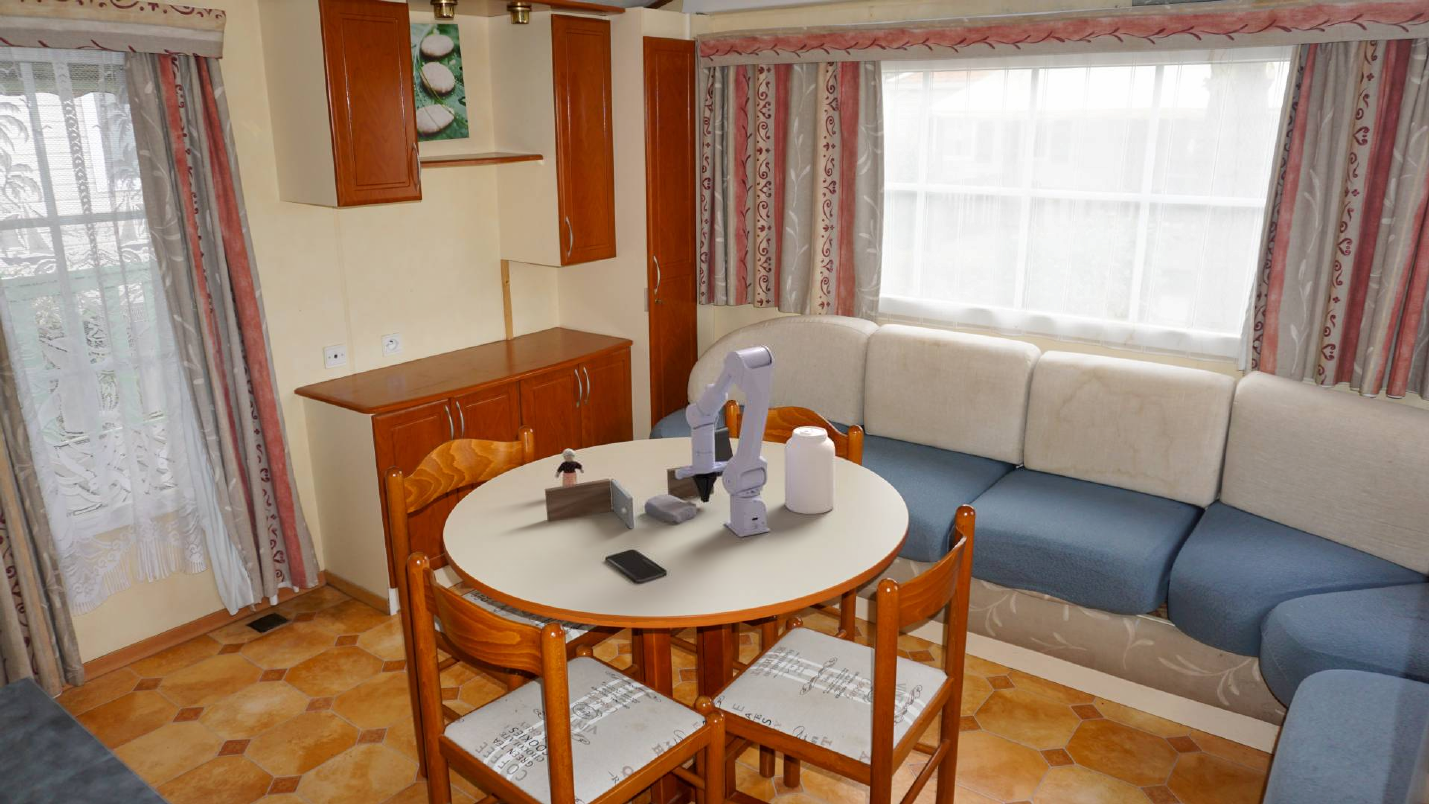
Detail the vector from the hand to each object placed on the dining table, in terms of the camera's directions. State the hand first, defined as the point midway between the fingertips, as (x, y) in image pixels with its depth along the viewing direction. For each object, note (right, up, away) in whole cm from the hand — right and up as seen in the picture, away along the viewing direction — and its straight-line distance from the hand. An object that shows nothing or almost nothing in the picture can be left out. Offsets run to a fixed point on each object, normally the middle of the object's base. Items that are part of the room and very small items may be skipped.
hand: (704, 501), depth 248 cm
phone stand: (+4, +6, +27) cm, 28 cm away
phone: (-15, -12, -33) cm, 38 cm away
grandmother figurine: (-35, 0, +11) cm, 37 cm away
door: (-21, -4, -6) cm, 22 cm away
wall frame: (-18, -1, +2) cm, 18 cm away
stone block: (-8, -3, -3) cm, 9 cm away
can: (+26, -1, -1) cm, 26 cm away
